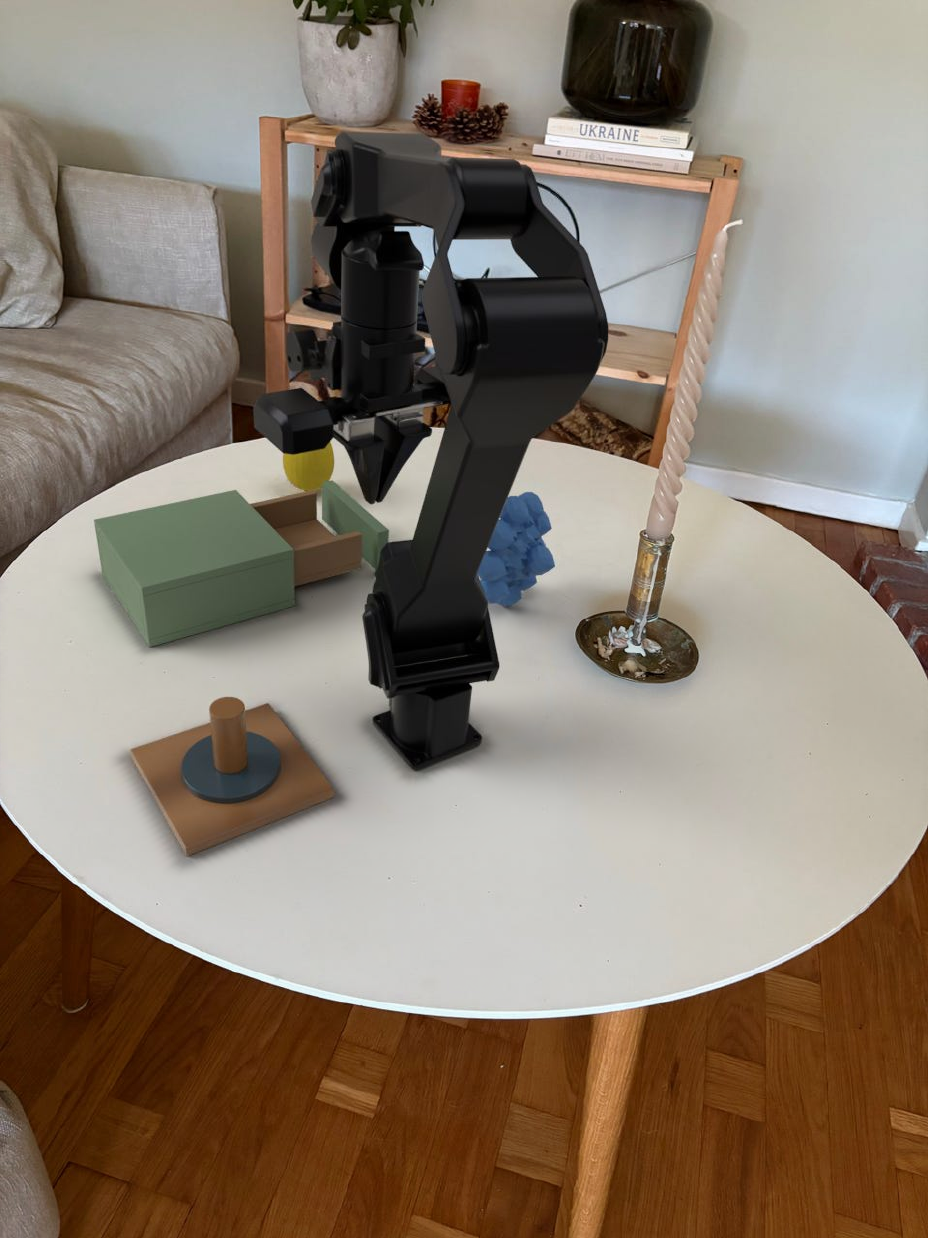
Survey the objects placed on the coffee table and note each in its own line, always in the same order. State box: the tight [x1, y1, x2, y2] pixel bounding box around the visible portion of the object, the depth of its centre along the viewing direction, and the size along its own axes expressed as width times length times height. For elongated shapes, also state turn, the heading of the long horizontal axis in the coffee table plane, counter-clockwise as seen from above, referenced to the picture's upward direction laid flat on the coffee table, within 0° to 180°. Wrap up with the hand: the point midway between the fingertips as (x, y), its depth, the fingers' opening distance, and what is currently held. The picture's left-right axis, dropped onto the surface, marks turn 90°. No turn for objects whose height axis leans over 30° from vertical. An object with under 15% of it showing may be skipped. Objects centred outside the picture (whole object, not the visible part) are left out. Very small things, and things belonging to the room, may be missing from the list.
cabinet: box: [93, 489, 296, 648], centre depth 87 cm, size 14×13×6 cm
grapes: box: [478, 491, 556, 608], centre depth 88 cm, size 12×7×12 cm, turn 148°
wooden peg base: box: [129, 702, 335, 857], centre depth 70 cm, size 11×11×1 cm
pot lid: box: [181, 696, 281, 803], centre depth 68 cm, size 7×7×6 cm
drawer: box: [249, 479, 390, 588], centre depth 93 cm, size 14×11×4 cm
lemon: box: [282, 441, 335, 492], centre depth 104 cm, size 6×6×8 cm
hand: (373, 501), depth 81 cm, fingers closed
